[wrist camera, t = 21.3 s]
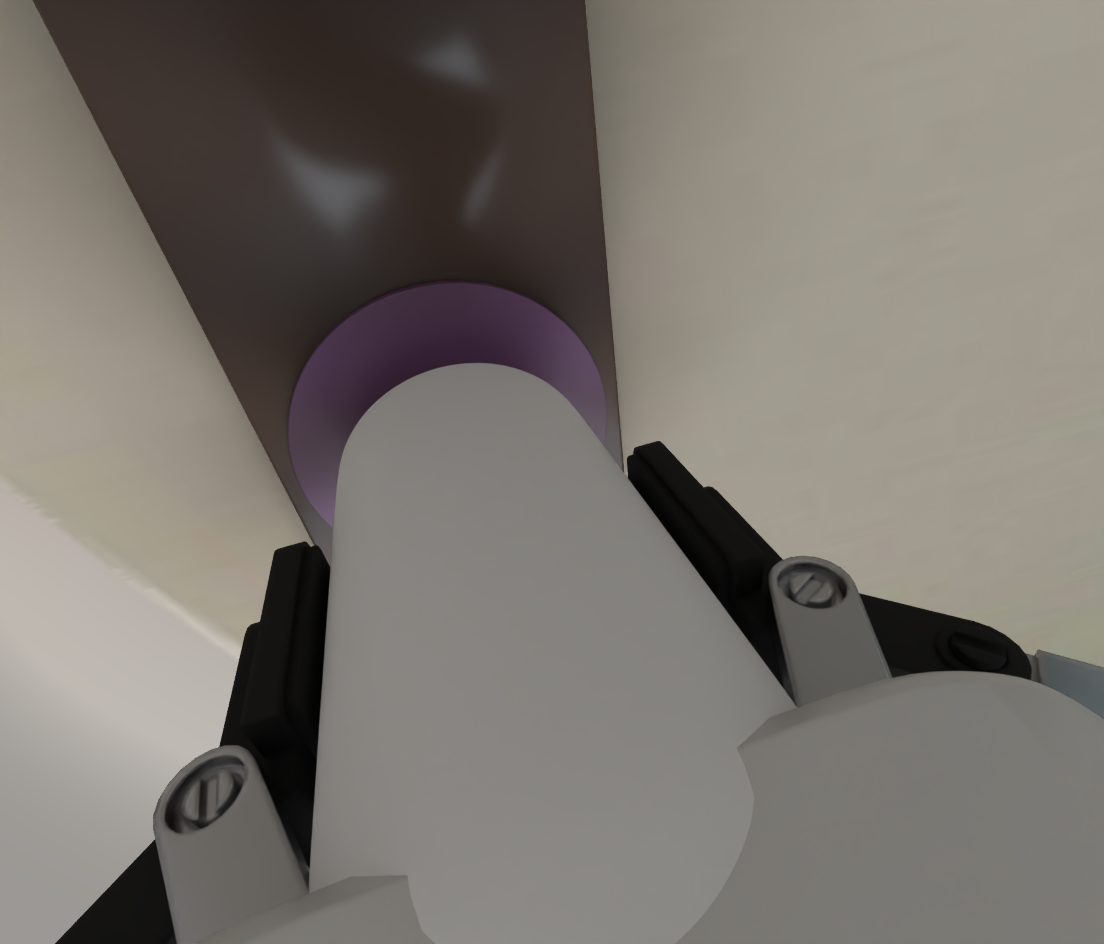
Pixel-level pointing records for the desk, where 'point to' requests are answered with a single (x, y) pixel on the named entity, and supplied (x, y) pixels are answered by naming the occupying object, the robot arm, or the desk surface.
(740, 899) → the robot arm
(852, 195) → the desk surface
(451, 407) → the can
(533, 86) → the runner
